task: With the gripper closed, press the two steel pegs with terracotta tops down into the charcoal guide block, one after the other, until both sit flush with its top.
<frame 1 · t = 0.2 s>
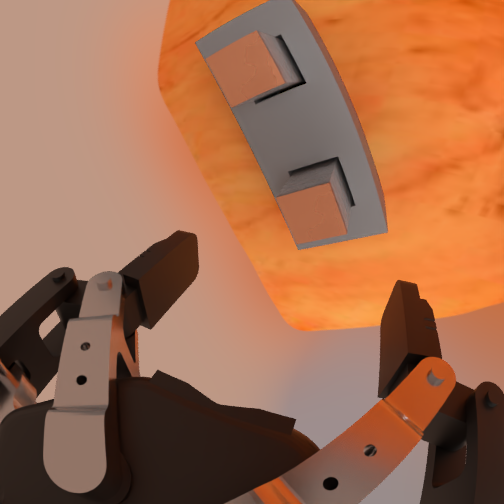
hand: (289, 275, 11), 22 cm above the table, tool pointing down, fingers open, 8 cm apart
guide block: (312, 115, 27), on the table
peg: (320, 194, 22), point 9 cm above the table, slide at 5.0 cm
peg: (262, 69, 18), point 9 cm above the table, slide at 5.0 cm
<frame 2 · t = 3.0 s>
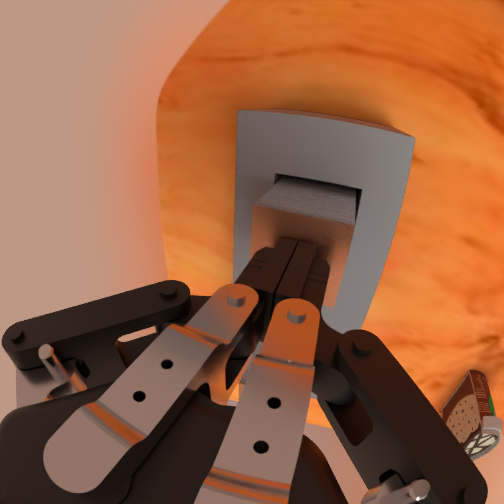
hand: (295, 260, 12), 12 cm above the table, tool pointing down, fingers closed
guide block: (317, 243, 24), on the table
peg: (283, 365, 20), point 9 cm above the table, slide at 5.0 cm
half cake: (471, 389, 26), on the table
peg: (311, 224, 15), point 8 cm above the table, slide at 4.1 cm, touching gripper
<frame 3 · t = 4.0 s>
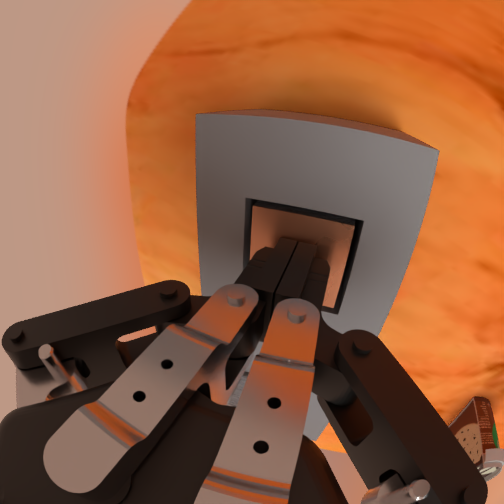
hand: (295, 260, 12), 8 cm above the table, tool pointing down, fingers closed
guide block: (309, 269, 21), on the table
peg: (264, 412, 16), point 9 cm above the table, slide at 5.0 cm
half cake: (474, 414, 22), on the table
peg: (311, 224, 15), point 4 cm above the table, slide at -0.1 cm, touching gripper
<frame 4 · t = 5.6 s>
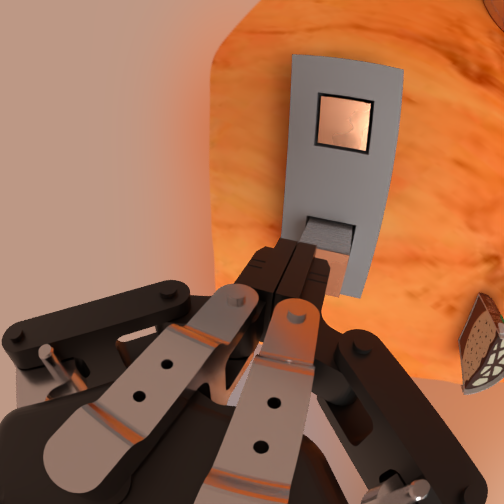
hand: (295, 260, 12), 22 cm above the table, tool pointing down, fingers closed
guide block: (342, 166, 29), on the table
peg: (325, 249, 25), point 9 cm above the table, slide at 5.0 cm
half cake: (483, 317, 30), on the table
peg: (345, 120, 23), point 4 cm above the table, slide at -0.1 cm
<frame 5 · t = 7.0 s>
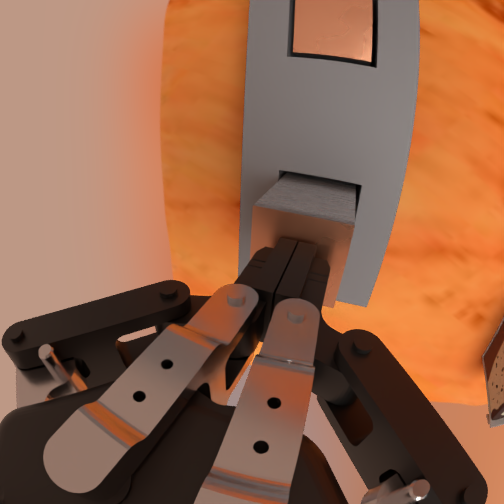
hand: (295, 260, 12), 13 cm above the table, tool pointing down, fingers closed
guide block: (336, 115, 19), on the table
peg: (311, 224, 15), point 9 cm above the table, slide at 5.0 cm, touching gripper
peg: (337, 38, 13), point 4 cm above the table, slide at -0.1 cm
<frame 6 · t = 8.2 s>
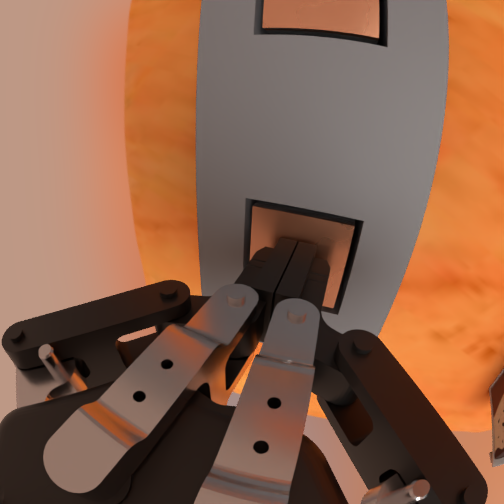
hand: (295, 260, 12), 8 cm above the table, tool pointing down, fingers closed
guide block: (331, 117, 15), on the table
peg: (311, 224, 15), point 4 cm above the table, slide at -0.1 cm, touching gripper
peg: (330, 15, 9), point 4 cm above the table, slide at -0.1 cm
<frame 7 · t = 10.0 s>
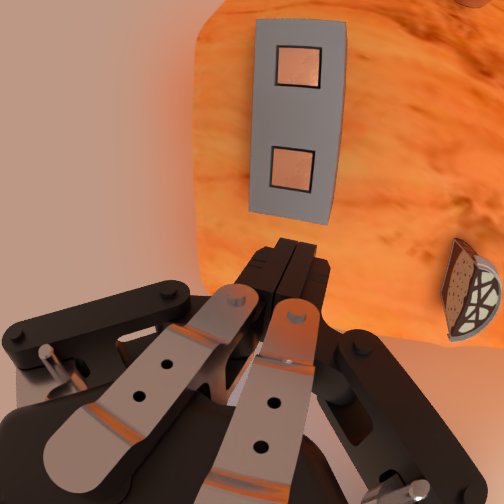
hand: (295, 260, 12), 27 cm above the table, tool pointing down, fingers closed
guide block: (307, 116, 32), on the table
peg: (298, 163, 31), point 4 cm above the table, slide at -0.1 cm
half cake: (463, 267, 33), on the table
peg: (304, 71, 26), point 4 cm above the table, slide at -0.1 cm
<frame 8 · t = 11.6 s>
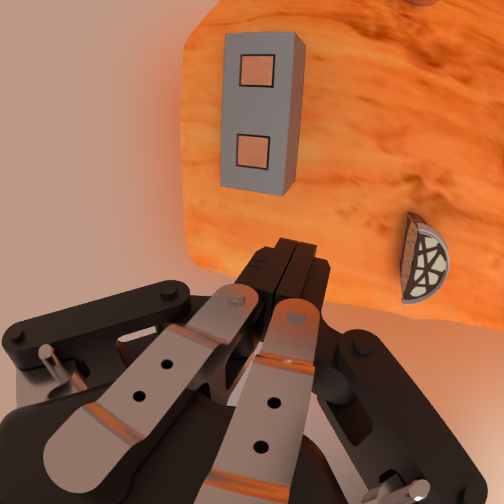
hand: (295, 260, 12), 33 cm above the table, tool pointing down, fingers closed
guide block: (271, 110, 39), on the table
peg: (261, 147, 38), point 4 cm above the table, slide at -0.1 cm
half cake: (419, 240, 40), on the table
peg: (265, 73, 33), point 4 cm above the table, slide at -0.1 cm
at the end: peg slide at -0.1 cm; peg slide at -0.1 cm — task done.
